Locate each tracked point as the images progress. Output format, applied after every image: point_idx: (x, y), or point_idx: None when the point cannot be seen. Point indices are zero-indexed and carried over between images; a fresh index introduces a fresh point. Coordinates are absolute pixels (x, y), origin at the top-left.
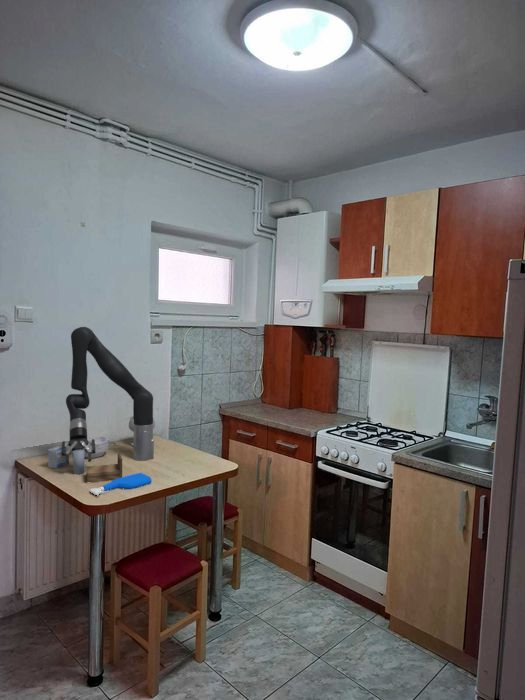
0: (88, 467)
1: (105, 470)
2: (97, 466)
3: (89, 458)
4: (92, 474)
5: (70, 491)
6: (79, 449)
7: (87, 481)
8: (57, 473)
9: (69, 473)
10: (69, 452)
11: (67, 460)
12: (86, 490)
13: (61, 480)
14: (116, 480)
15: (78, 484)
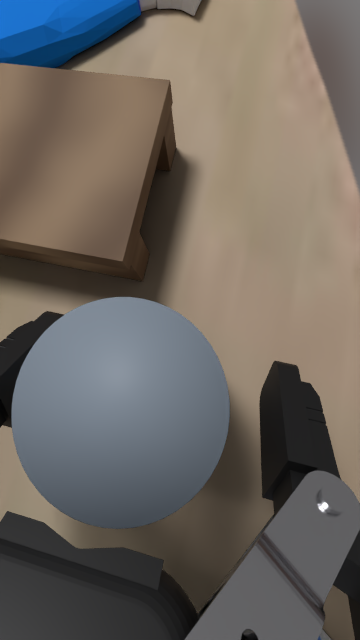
0: (114, 230)
1: (28, 101)
2: (41, 224)
3: (42, 319)
4: (135, 86)
5: (296, 57)
6: (76, 506)
7: (174, 138)
8: None
9: (236, 404)
10: (284, 504)
11: (296, 386)
12: (212, 39)
13: (317, 270)
14: (34, 10)
15: (230, 146)
